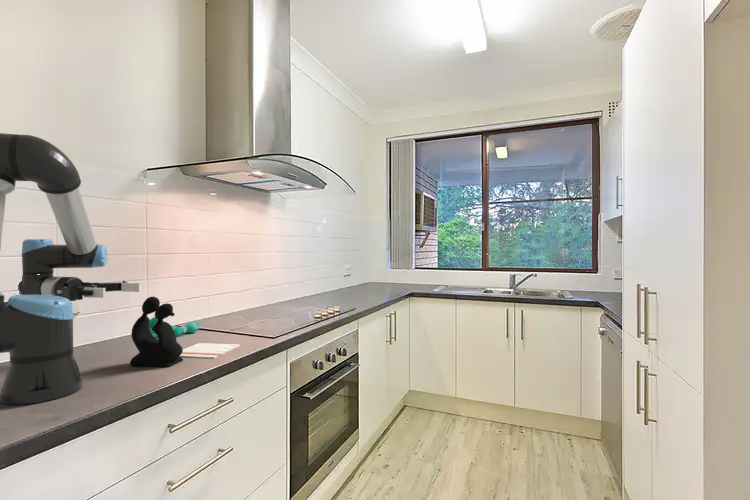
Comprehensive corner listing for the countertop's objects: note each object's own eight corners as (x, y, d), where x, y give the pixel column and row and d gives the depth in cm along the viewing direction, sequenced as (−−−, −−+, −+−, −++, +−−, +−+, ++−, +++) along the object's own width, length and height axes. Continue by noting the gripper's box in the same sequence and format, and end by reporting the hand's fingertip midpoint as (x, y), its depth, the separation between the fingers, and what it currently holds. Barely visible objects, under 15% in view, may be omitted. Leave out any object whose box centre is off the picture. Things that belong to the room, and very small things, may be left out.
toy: (173, 329, 147) (206, 318, 166) (123, 322, 151) (162, 312, 171) (172, 347, 147) (206, 334, 166) (122, 340, 151) (161, 327, 171)
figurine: (125, 367, 115) (124, 298, 115) (146, 358, 124) (145, 294, 124) (170, 368, 114) (169, 298, 113) (188, 359, 122) (187, 294, 122)
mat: (214, 358, 123) (214, 356, 123) (168, 356, 126) (168, 354, 126) (240, 345, 139) (240, 344, 139) (198, 344, 142) (198, 342, 142)
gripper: (98, 295, 137) (153, 296, 133) (22, 307, 112) (87, 309, 109) (98, 273, 137) (152, 274, 133) (22, 280, 112) (86, 281, 109)
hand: (123, 290), depth 121 cm, fingers open, 13 cm apart
